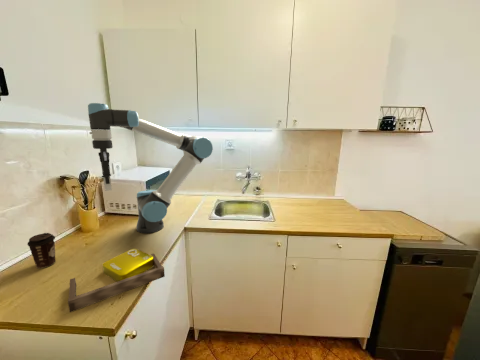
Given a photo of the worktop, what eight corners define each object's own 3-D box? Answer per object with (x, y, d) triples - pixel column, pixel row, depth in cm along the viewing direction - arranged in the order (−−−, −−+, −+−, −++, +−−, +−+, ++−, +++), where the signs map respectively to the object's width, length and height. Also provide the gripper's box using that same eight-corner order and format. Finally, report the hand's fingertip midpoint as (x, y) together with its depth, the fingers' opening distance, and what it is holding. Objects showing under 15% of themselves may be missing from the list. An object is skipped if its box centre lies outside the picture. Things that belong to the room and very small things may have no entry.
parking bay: (154, 259, 97) (154, 251, 96) (164, 276, 85) (164, 267, 84) (71, 286, 79) (69, 276, 78) (69, 312, 68) (67, 301, 67)
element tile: (101, 273, 88) (100, 262, 86) (135, 255, 100) (134, 246, 99) (123, 286, 80) (121, 275, 79) (156, 265, 93) (155, 255, 92)
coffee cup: (57, 256, 98) (52, 230, 95) (61, 263, 93) (56, 235, 90) (31, 264, 91) (25, 237, 89) (34, 272, 86) (28, 243, 83)
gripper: (91, 139, 99) (97, 188, 104) (92, 140, 88) (99, 194, 94) (110, 139, 103) (115, 186, 108) (113, 140, 93) (119, 192, 98)
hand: (108, 190), depth 101 cm, fingers closed
